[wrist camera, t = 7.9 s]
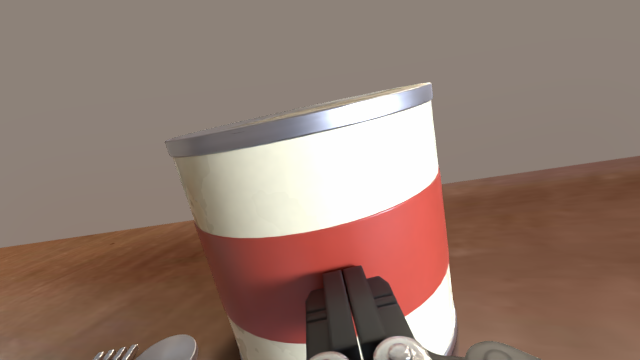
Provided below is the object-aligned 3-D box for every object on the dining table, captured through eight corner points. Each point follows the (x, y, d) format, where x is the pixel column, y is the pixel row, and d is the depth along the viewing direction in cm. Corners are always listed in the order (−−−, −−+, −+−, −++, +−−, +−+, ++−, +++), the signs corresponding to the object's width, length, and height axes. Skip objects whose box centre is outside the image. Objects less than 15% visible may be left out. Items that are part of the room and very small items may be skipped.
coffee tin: (195, 363, 18) (111, 151, 14) (316, 250, 28) (283, 111, 25) (420, 490, 10) (353, 107, 7) (473, 271, 20) (456, 75, 17)
